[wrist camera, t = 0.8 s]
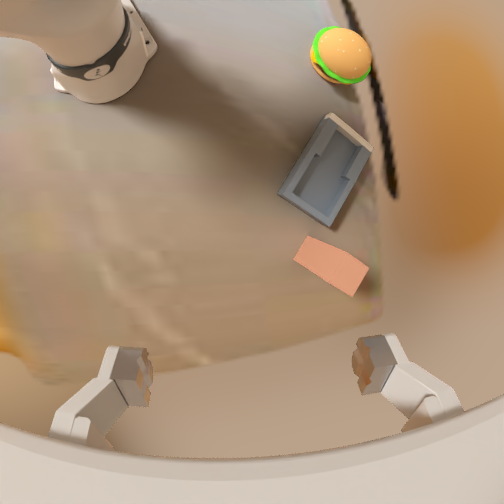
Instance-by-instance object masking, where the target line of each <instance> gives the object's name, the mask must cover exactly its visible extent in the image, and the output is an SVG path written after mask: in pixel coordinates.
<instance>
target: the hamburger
mask: <svg viewBox="0 0 504 504" xmlns="http://www.w3.org/2000/svg"><path fill="white" fill-rule="evenodd" d="M310 58H311V62H312V65H313V67H314V69H315V70H316V71H317V73H318V74H319V75H320V76H322V77H323V78H324V79H326V80H328V81H330V82H333V83H339V84H341V83H343V84H345V85H349V84H355V83H358V82H361V81H363V80H364V79H365V78H366V76H367V75H368V73H369V72H370V70H371V66H370V64H371V52H370V49H369V47H368V45H367V43H366V42H365V40H364V39H363V38H362V37H361V36H360V35H358V34H357V33H356V32H354V31H352V30H349V29H344V28H340V27H337V26H333V27H327V28H324V29H322V30H320V31H319V32H318V33H317V34H316V36H315V39H314V42H313V45H312V47H311V50H310Z"/></svg>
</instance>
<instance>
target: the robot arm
mask: <svg viewBox="0 0 504 504" xmlns="http://www.w3.org/2000/svg"><path fill="white" fill-rule="evenodd" d="M0 37H11V38H18V39H23V40H27V41H30V42H32V43H34V44H36V45H37V46H38V47H40V48H41V49H42V50H43V51H44V52H46V54H47V57H48V59H49V61H50V63H51V64H52V68H51V70H50V71H51V73H52V75H53V76H54V87H55V89H56V90H57V91H59V92H64V93H70V94H72V95H74V96H75V97H76V98H78V99H79V100H81V101H84V102H87V103H105V102H109V101H112V100H114V99H117V98H119V97H120V96H122V95H124V94H125V93H126V92H128V91H129V90H130V89H131V88H132V87H133V86H134V85H135V84H136V82H137V81H138V80H139V78H140V76H141V75H142V72H143V70H144V67H145V65H146V63H147V61H148V60H149V59H150V58H151V57H152V56H153V55H154V54H155V53H156V51H157V49H158V47H157V44H156V42H155V41H154V39H153V37H152V36H151V34H150V32H149V31H148V29H147V27H146V26H145V24H144V22H143V21H142V19H141V17H140V16H139V14H138V12H137V11H136V9H135V8H134V6H133V4H132V3H131V1H130V0H0ZM146 42H150V43H149V44H145V43H146ZM356 345H357V349H356V350H355V351H354V352H353V356H352V367H353V371H354V374H356V375H357V376H358V377H359V380H358V385H359V388H360V391H361V394H362V395H366V394H372V393H378V392H381V394H382V395H383V396H384V397H386V399H388V400H389V401H390V402H391V403H392V404H393V405H394V406H395V407H396V408H397V409H398V410H399V411H401V412H402V413H403V414H404V415H405V416H406V417H407V418H408V419H409V420H408V421H407V422H406V424H405V425H404V426H403V428H402V430H401V431H402V433H399V434H395V435H392V436H388V437H384V438H380V439H376V440H372V441H367V442H363V443H358V444H354V445H348V446H343V447H338V448H332V449H327V450H320V451H313V452H306V453H298V454H289V455H278V456H267V457H251V458H179V457H164V456H151V455H142V454H134V453H126V452H119V451H113V447H112V445H111V444H110V443H109V442H108V441H107V440H106V439H105V438H104V436H105V435H106V433H107V432H108V431H109V430H110V429H111V427H112V426H113V425H114V424H115V422H116V421H117V420H118V419H119V418H120V417H121V415H122V414H123V413H124V412H125V411H126V409H127V408H128V406H139V407H148V406H149V401H150V395H151V393H150V391H149V387H150V386H151V385H152V382H153V366H152V363H151V361H150V360H148V359H147V358H148V352H147V349H146V348H137V347H122V346H109V347H108V348H107V349H106V352H105V355H104V358H103V361H102V365H101V368H100V371H99V374H98V377H97V378H93V379H92V380H91V381H90V382H89V383H87V384H86V385H85V386H84V387H83V388H82V389H81V390H79V391H78V392H77V393H76V394H75V395H74V396H73V397H71V398H70V399H69V400H68V401H67V402H66V403H65V404H63V405H62V406H61V407H60V408H59V409H58V410H57V411H56V413H55V416H54V420H53V423H52V426H51V429H50V432H49V436H48V437H46V436H42V435H39V434H35V433H32V432H29V431H25V430H22V429H19V428H16V427H13V426H10V425H7V424H4V423H2V422H0V504H504V394H503V395H500V396H498V397H496V398H494V399H492V400H490V401H488V402H485V403H483V404H481V405H479V406H476V407H474V408H472V409H469V410H467V411H464V410H463V408H462V406H461V404H460V402H459V400H458V398H457V396H456V394H455V392H454V390H453V388H451V387H450V386H448V385H446V384H445V383H444V382H442V381H441V380H439V379H438V378H436V377H435V376H433V375H432V374H430V373H429V372H428V371H426V370H424V369H423V368H422V367H420V366H418V365H417V364H416V363H414V362H413V361H412V362H409V360H408V358H407V356H406V354H405V352H404V350H403V348H402V346H401V344H400V342H399V340H398V338H397V337H396V335H395V334H394V333H389V334H383V335H375V336H368V337H361V338H359V339H358V341H357V344H356Z"/></svg>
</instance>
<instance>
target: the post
mask: <svg viewBox="0 0 504 504" xmlns="http://www.w3.org/2000/svg"><path fill="white" fill-rule="evenodd" d="M293 260H295V261H296V262H298V263H299V264H301V265H303V266H304V267H306V268H307V269H309V270H310V271H312V272H313V273H315V274H316V275H318V276H319V277H321V278H322V279H324V280H325V281H327V282H328V283H330V284H332V285H333V286H335V287H337V288H338V289H340V290H341V291H343V292H345V293H346V294H348V295H350V296H351V297H352V296H353V295H354V293H355V292H356V290H357V288H358V287H359V285H360V283H361V282H362V280H363V278H364V276H365V275H366V273H367V271H368V270H369V267H367V266H366V265H364V264H363V263H361V262H360V261H359V260H357V259H356V258H354V257H353V256H352V255H350V254H349V253H347V252H345V251H343V250H340V249H338V248H336V247H333V246H331V245H329V244H326V243H324V242H322V241H319V240H317V239H314V238H312V237H310V236H307V237H306V239H305V240H304V242H303V244H302V245H301V247H300V249H299V250H298V252H297V254H296V255H295V257H294V259H293Z"/></svg>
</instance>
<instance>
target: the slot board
mask: <svg viewBox="0 0 504 504" xmlns="http://www.w3.org/2000/svg"><path fill="white" fill-rule="evenodd" d="M373 149H374V147H373V146H372V145H370V144H369V143H368V142H367V141H366V140H365V139H364V138H362V137H361V136H360V135H359V134H358V133H357V132H356V131H354V130H353V129H352V128H351V127H350V126H348V125H347V124H346V123H345V122H344V121H342V120H341V119H340V118H339V117H337V116H336V115H335V114H334V113H330V114H327V115H325V116H324V117H323V119H322V121H321V122H320V124H319V125H318V127H317V129H316V130H315V132H314V134H313V135H312V137H311V139H310V140H309V142H308V143H307V145H306V147H305V148H304V150H303V152H302V153H301V155H300V157H299V158H298V160H297V162H296V163H295V165H294V167H293V168H292V170H291V172H290V173H289V175H288V176H287V178H286V180H285V181H284V183H283V185H282V186H281V188H280V190H279V191H278V193H277V195H279V196H280V197H282V198H283V199H285V200H286V201H288V202H289V203H291V204H292V205H294V206H295V207H297V208H298V209H300V210H301V211H303V212H304V213H306V214H307V215H309V216H310V217H312V218H313V219H315V220H316V221H318V222H319V223H320V224H322V225H325V226H328V227H330V226H331V224H332V223H333V221H334V219H335V217H336V216H337V214H338V212H339V210H340V209H341V207H342V205H343V203H344V202H345V200H346V198H347V196H348V194H349V193H350V191H351V189H352V187H353V185H354V184H355V182H356V180H357V178H358V176H359V175H360V173H361V171H362V169H363V167H364V165H365V163H366V162H367V160H368V158H369V156H370V154H371V152H372V150H373Z"/></svg>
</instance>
